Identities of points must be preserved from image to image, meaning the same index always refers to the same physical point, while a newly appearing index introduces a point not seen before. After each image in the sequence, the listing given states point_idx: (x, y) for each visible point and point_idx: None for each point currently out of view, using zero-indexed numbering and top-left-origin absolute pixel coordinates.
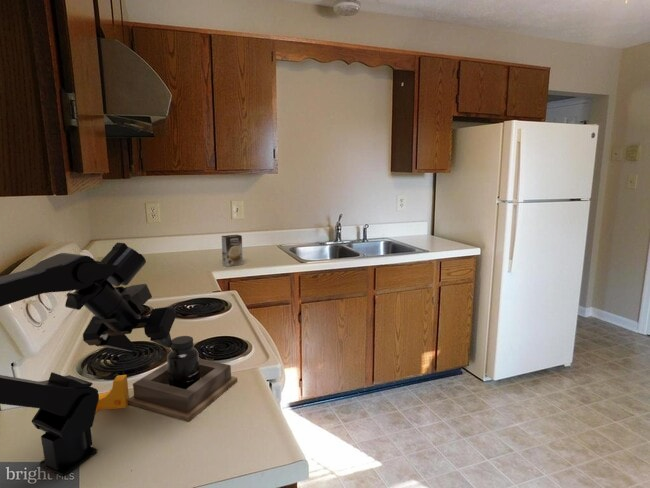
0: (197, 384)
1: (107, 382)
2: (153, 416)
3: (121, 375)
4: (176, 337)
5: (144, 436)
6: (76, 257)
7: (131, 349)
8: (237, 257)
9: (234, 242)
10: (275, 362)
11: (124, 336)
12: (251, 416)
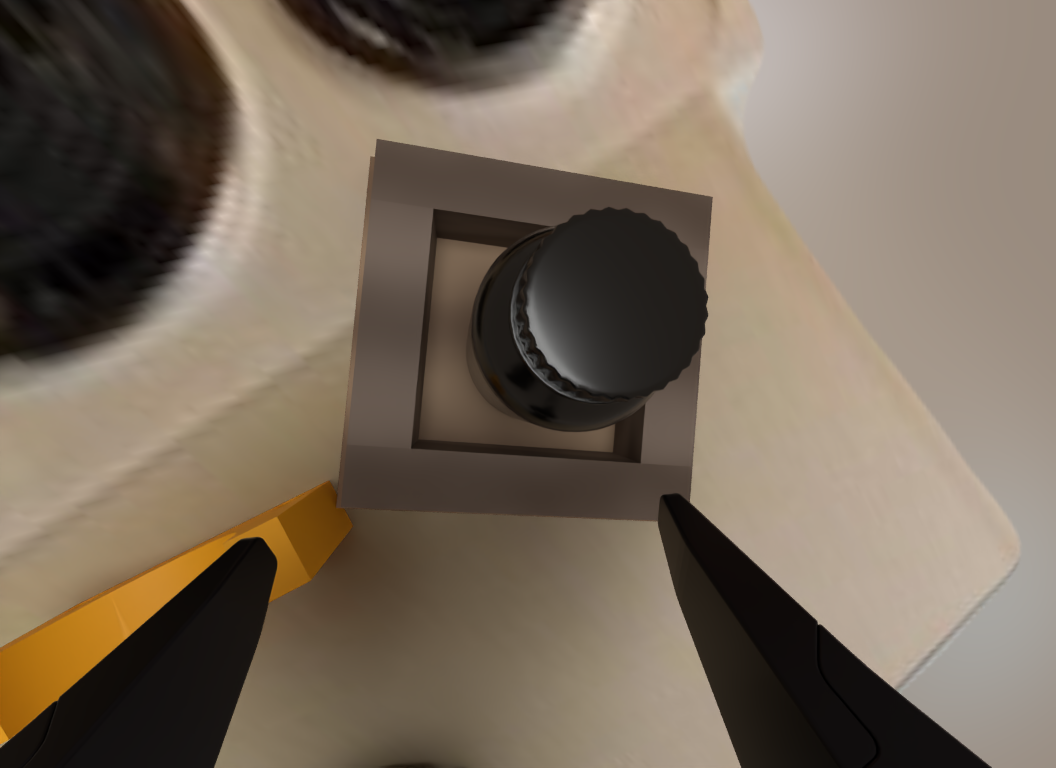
0: (665, 408)
1: (71, 383)
2: (514, 534)
3: (250, 534)
4: (535, 268)
5: (565, 639)
6: None
7: (263, 595)
8: None
9: None
10: (758, 31)
11: (100, 754)
12: (837, 418)
